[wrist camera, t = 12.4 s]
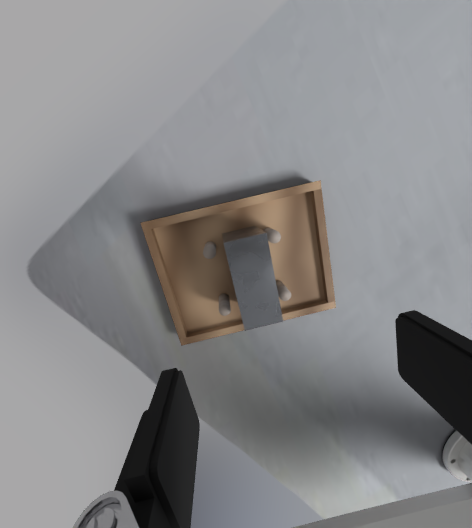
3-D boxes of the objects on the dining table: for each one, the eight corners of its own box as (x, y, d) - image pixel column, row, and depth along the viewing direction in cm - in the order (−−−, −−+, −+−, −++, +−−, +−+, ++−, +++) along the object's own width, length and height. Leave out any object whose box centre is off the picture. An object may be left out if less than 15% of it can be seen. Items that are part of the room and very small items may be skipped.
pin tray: (312, 182, 25) (330, 177, 21) (327, 300, 28) (346, 316, 24) (146, 221, 24) (132, 224, 20) (184, 335, 28) (178, 358, 24)
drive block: (254, 225, 24) (266, 232, 18) (268, 295, 26) (283, 321, 20) (222, 233, 24) (223, 242, 18) (238, 302, 26) (244, 330, 20)
